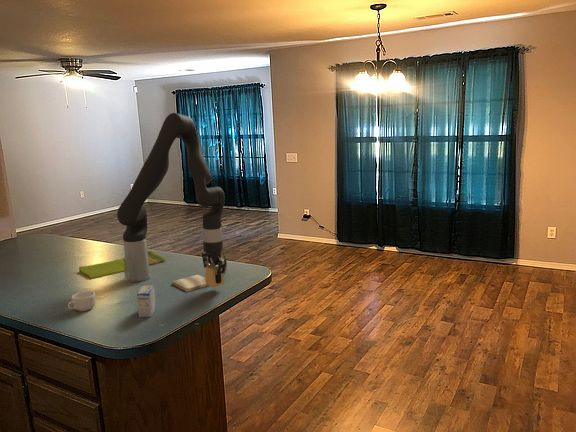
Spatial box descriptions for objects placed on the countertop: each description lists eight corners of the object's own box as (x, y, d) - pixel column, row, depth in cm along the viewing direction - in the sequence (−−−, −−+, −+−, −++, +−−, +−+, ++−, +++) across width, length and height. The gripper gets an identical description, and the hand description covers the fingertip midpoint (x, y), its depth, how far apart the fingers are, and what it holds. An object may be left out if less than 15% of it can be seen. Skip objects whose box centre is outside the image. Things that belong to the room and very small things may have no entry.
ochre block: (212, 287, 176) (212, 270, 175) (205, 284, 180) (205, 267, 179) (223, 284, 180) (223, 267, 178) (216, 281, 183) (216, 264, 182)
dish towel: (166, 262, 220) (166, 255, 220) (91, 281, 197) (90, 273, 196) (151, 256, 231) (151, 249, 231) (78, 272, 208) (77, 266, 207)
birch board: (187, 291, 180) (186, 288, 180) (172, 284, 189) (172, 281, 188) (213, 284, 188) (212, 281, 187) (197, 277, 196) (197, 274, 196)
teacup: (88, 303, 171) (87, 289, 170) (101, 307, 167) (99, 293, 166) (63, 312, 163) (61, 298, 162) (75, 317, 159) (73, 302, 157)
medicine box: (143, 308, 165) (141, 285, 163) (156, 307, 165) (154, 284, 163) (138, 317, 157) (136, 293, 155) (152, 316, 157) (149, 293, 156)
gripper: (231, 241, 173) (233, 283, 177) (211, 234, 184) (213, 274, 187) (214, 244, 168) (216, 288, 172) (194, 237, 179) (196, 278, 182)
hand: (214, 281), depth 180 cm, fingers closed on ochre block, 5 cm apart
